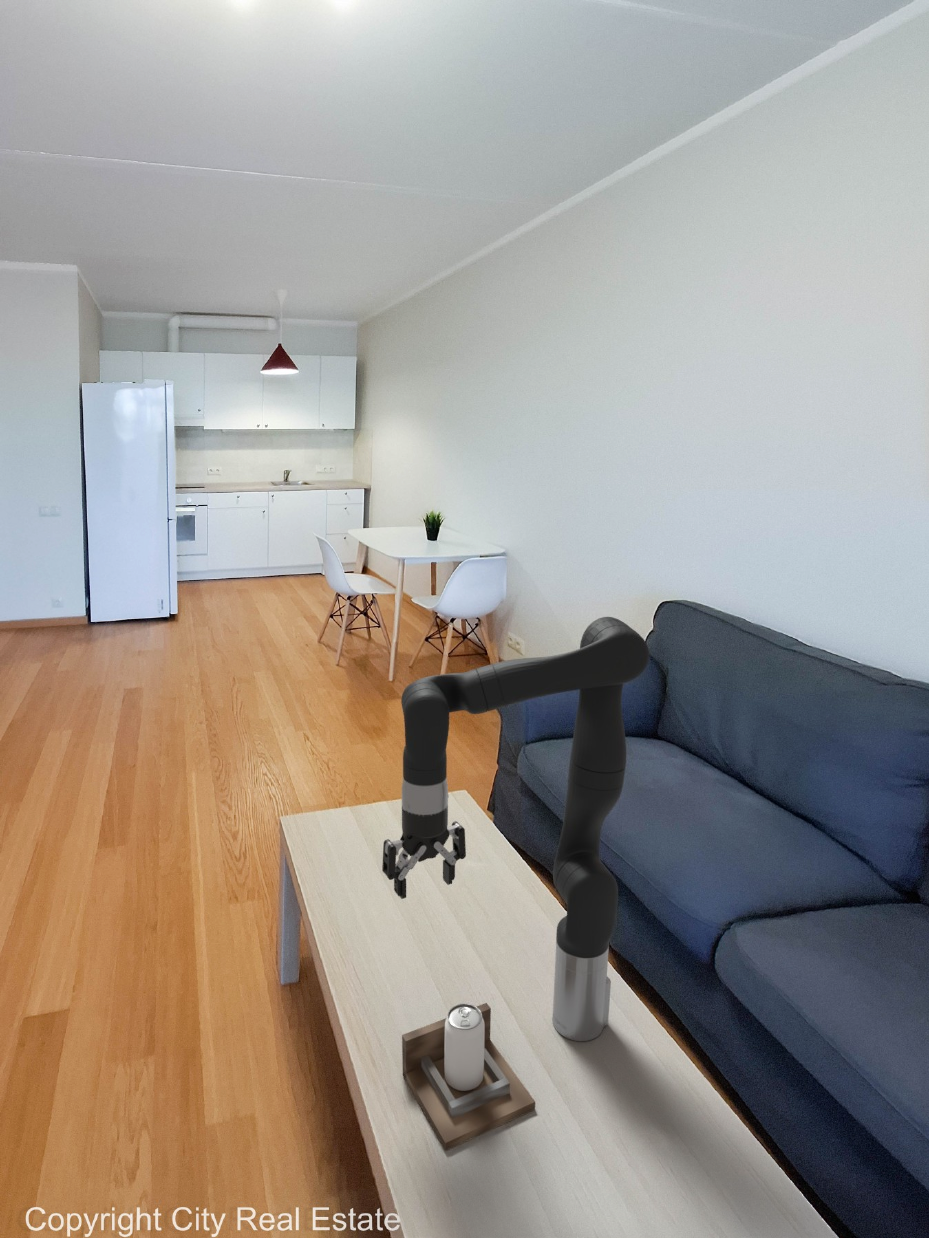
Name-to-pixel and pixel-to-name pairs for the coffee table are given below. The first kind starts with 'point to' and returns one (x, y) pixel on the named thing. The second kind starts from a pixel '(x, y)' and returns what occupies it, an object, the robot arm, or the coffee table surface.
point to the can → (464, 1047)
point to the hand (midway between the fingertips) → (424, 888)
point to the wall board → (461, 1110)
